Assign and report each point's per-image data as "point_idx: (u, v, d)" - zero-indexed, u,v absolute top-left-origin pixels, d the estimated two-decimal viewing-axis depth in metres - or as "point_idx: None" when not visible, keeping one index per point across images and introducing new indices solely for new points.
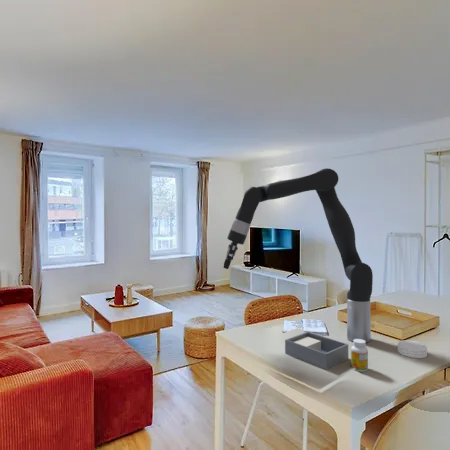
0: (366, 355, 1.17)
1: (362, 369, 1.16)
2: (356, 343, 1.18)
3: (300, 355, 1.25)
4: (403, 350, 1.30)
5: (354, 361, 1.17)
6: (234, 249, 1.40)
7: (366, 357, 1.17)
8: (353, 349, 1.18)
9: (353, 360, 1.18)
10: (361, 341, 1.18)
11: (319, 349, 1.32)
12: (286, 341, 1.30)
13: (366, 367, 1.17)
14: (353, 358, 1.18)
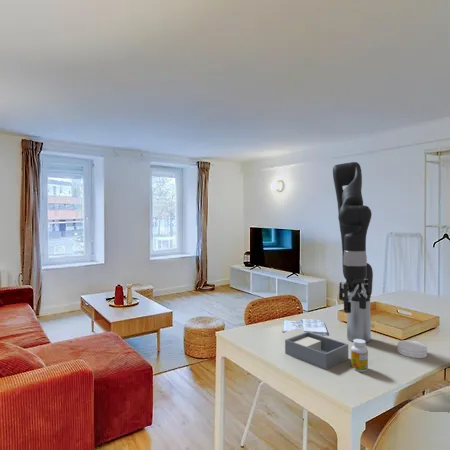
0: (366, 355, 1.17)
1: (362, 369, 1.16)
2: (356, 343, 1.18)
3: (300, 355, 1.25)
4: (403, 350, 1.30)
5: (354, 361, 1.17)
6: None
7: (366, 357, 1.17)
8: (353, 349, 1.18)
9: (353, 360, 1.18)
10: (361, 341, 1.18)
11: (319, 349, 1.32)
12: (286, 341, 1.30)
13: (366, 367, 1.17)
14: (353, 358, 1.18)
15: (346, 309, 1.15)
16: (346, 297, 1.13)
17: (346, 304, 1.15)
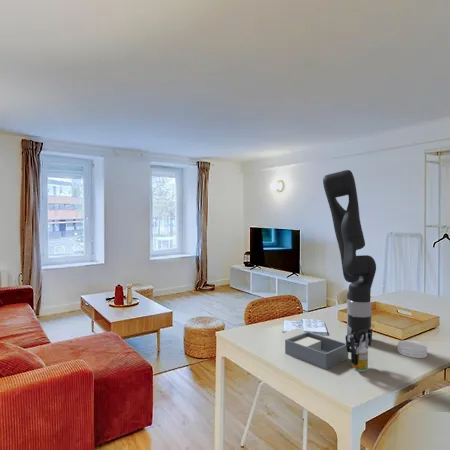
0: (366, 355, 1.17)
1: (362, 369, 1.16)
2: (356, 343, 1.18)
3: (300, 355, 1.25)
4: (403, 350, 1.30)
5: None
6: None
7: (366, 357, 1.17)
8: None
9: None
10: None
11: (319, 349, 1.32)
12: (286, 341, 1.30)
13: (366, 367, 1.17)
14: None
15: (353, 361, 1.16)
16: (354, 350, 1.15)
17: (353, 356, 1.16)
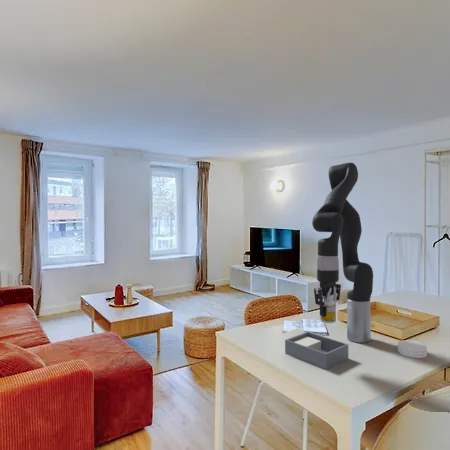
0: (334, 307, 1.22)
1: (330, 321, 1.21)
2: (324, 296, 1.23)
3: (300, 355, 1.25)
4: (403, 350, 1.30)
5: None
6: None
7: (334, 309, 1.22)
8: None
9: None
10: None
11: (319, 349, 1.32)
12: (286, 341, 1.30)
13: (334, 319, 1.22)
14: None
15: (322, 313, 1.21)
16: (322, 302, 1.20)
17: (322, 308, 1.21)
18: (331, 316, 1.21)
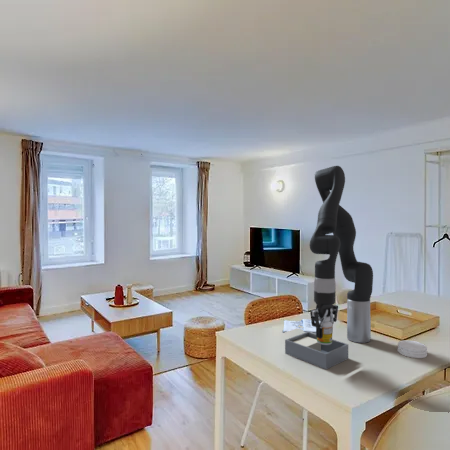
0: (330, 329, 1.23)
1: (326, 342, 1.22)
2: (321, 318, 1.24)
3: (300, 355, 1.25)
4: (403, 350, 1.30)
5: None
6: None
7: (330, 331, 1.23)
8: None
9: None
10: (326, 317, 1.24)
11: (319, 349, 1.32)
12: (286, 341, 1.30)
13: (330, 341, 1.23)
14: None
15: (318, 335, 1.22)
16: (318, 324, 1.21)
17: (318, 330, 1.22)
18: (327, 338, 1.22)
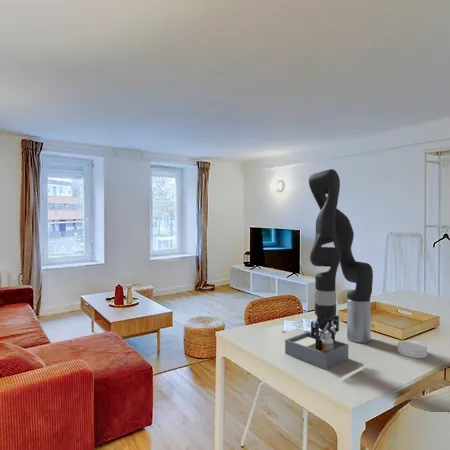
0: (331, 346, 1.23)
1: None
2: None
3: (300, 355, 1.25)
4: (403, 350, 1.30)
5: (320, 351, 1.24)
6: None
7: (331, 348, 1.23)
8: None
9: (319, 350, 1.24)
10: (327, 333, 1.24)
11: None
12: (286, 341, 1.30)
13: None
14: None
15: (317, 346, 1.22)
16: (317, 336, 1.20)
17: (317, 342, 1.21)
18: None
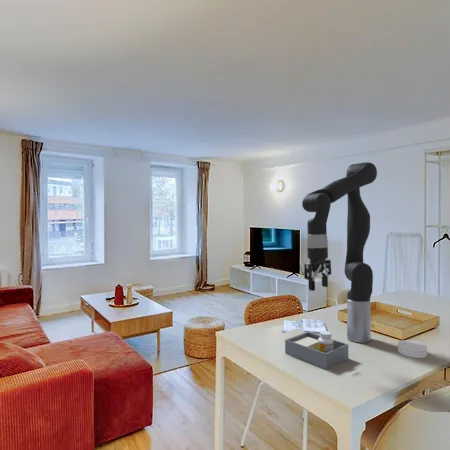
0: (331, 346, 1.23)
1: None
2: (322, 335, 1.24)
3: (300, 355, 1.25)
4: (403, 350, 1.30)
5: (320, 351, 1.24)
6: None
7: (331, 348, 1.23)
8: (319, 340, 1.24)
9: (319, 350, 1.24)
10: (327, 333, 1.24)
11: None
12: (286, 341, 1.30)
13: None
14: (319, 349, 1.24)
15: (311, 287, 1.27)
16: (310, 276, 1.25)
17: (310, 283, 1.27)
18: None
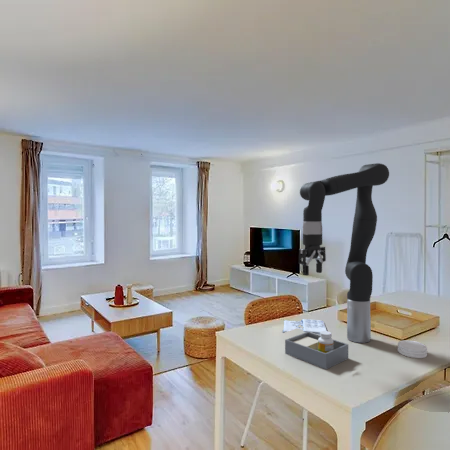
0: (331, 346, 1.23)
1: None
2: (322, 335, 1.24)
3: (300, 355, 1.25)
4: (403, 350, 1.30)
5: (320, 351, 1.24)
6: None
7: (331, 348, 1.23)
8: (319, 340, 1.24)
9: (319, 350, 1.24)
10: (327, 333, 1.24)
11: None
12: (286, 341, 1.30)
13: None
14: (319, 349, 1.24)
15: (304, 272, 1.32)
16: (304, 261, 1.31)
17: (304, 267, 1.32)
18: None
